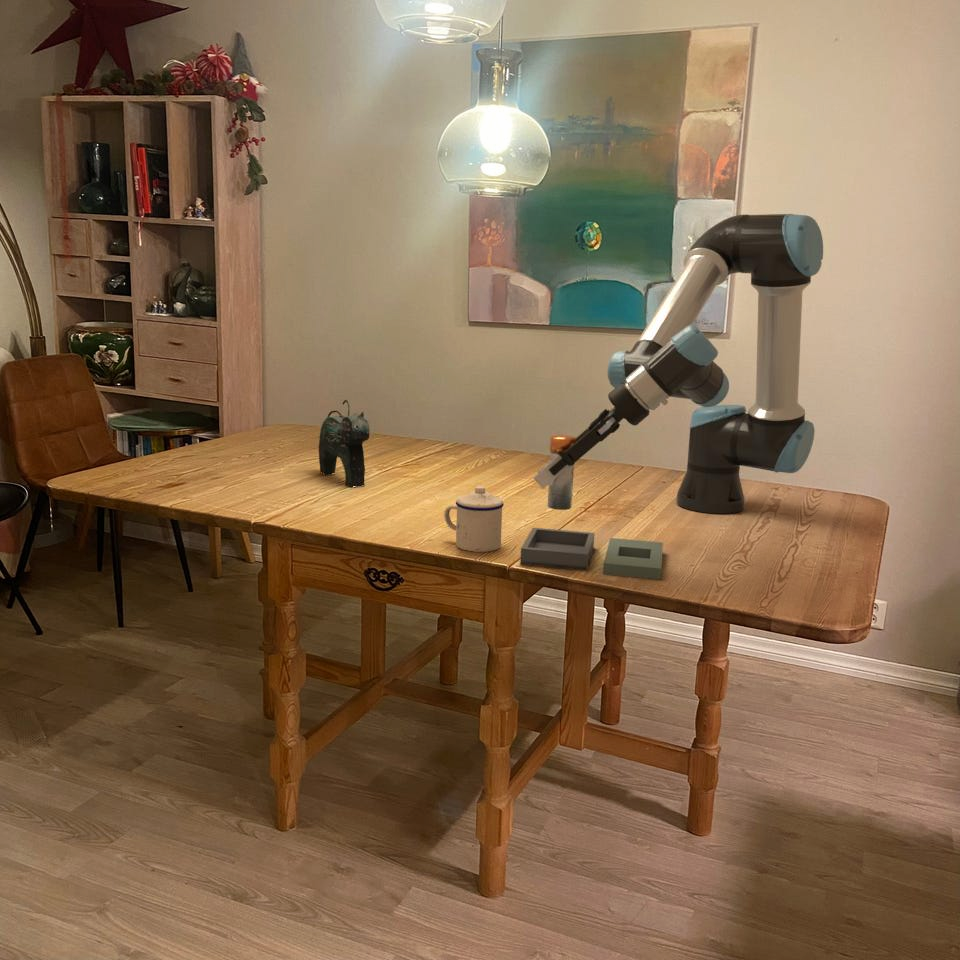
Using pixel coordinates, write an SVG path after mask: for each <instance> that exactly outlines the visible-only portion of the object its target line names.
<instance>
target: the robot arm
mask: <svg viewBox="0 0 960 960" xmlns="http://www.w3.org/2000/svg"><path fill="white" fill-rule="evenodd" d="M823 239H824V238H823V235H822V231H821V229H820V226H819V224H818V223H817V221H816V219H814V218H813V217H812V216H810V215H806V214H793V213H780V214H779V213H777V214H775V213H774V214H773V213H772V214H737V215H734V216H730V217H727V218H725V219H724V220H722V221H720V222H718V223H716V224H714V225H713V226H712V227H710V228H709V229H708V230H706V231H705V232H704V233H703V234H702V235H701V236H700V237H698V238H697V239H696V241H694V243H693V244H692V245H691V246H690V248H689V249H688V251H687V253H686V255H685V256H684V258H683V269H682V270H681V271H680V273H679V275H678V276H677V278H676V279H675V281H674V282H673V284H672V285H671V287H670V289H669V290H668V292H667V294H666V295H665V297H664V298H663V300H662V301H661V303H660V305H659V306H658V307H657V310H656V311H655V312H654V314H653V316H652V317H651V318H650V320H649V321H648V323H647V325H646V326H645V328H644V330H643V332H642V333H641V335H640V336H639V338H638V339H637V341H636V342H635V344H634V345H633V346H632V348H631V349H630V350H629V351H628V350H620V351H617V352H614V353H613V354H612V355H611V357H610V359H609V361H608V365H607V379H608V381H609V384H610V385H611V387H612V388H613V389H612V390H611V391H610V392H609V393H608V395H607V396H608V400H609V402H610V403H611V405H612V406H614V407H613V408H611V409H606V408H605V409H604V410H603V411H601V413H599V415H598V416H597V417H596V418H595V419H594V420H593V421H592V422H591V423H590V424H589V426H588V427H587V428H585V429H584V431H582V432H581V433H580V434H579V435H578V436H576V442H575V443H574V444H573V445H572V446H571V447H570V448H568V449H567V450H566V451H565V452H564V453H562V452H561V451H559V452H558V454H559V456H558V457H557V458H555V459H554V460H553V461H552V462H551V463H550V460H549V461H548V462H547V463H546V464H545V465H543V467H541V468H540V469H539V470H538V471H537V474H536V475H535V476H533V477H532V478H533V480H534V481H535V483H537V484H538V486H540V487H541V489H542V490H544V489H545V488H546V487H548V486H549V484H550V483H551V482H552V481H553V480H554V479H556V478H557V477H558V476H559V475H560V474H561V473H563V472H564V471H565V470H566V469H567V468H568V467H570V465H571V466H572V465H574V466H575V463H576V462H578V460H580V459H581V458H582V457H584V455H586V454H587V453H588V452H589V451H591V450H592V448H594V447H595V446H596V445H597V444H599V443H600V442H603V441H604V440H606V439H607V437H608V436H610V435H611V434H613V433H616V431H617V430H619V429H620V426H621V424H620V423H621V421H622V420H623V419H625V420H626V421H627V423H628V424H630V425H632V426H638V425H639V424H640V423H642V421H644V420H645V419H646V418H647V417H648V416H649V415H650V410H651V411H655V410H656V409H657V408H658V407H660V406H661V404H662V405H663V406H666V405H668V403H669V401H668V400H667V399H669V398H678V399H687V400H690V401H691V402H693V403H694V404H696V405H699V406H701V407H697V408H696V409H694V410H693V412H692V414H691V420H690V425H689V439H688V450H687V465H686V472H685V474H684V477H683V478H682V481H681V483H680V486H679V488H678V491H677V492H676V501H675V502H676V504H677V505H678V506H679V507H682V508H683V509H686V510H691V511H693V512H694V511H695V512H701V513H706V514H733V513H734V514H735V513H740V512H741V511H743V510H745V509H744V508H745V501H746V500H745V495H744V491H743V487H742V483H741V479H740V478H741V477H740V466H742V467H746V468H747V467H748V468H753V469H758V470H764V471H770V472H774V473H778V474H779V473H785V474H794V473H797V472H798V471H800V470H801V469H802V467H803V466H804V465H805V463H806V462H807V460H808V458H809V455H810V453H811V450H812V447H813V444H814V440H815V439H814V438H815V425H814V423H813V422H811V421H809V420H808V419H807V420H806V419H805V417H806V416H805V415H806V410H805V408H804V407H803V406H801V404H800V403H799V382H800V381H799V379H800V378H799V377H800V356H801V333H802V331H801V330H802V311H803V309H802V307H803V291H804V290H805V289H806V288H807V287H808V286H809V285H810V284H811V281H812V280H811V279H812V277H813V276H815V275H817V274H818V273H819V271H820V270H821V267H822V260H823V258H824V241H823ZM738 273H739V274H740V273H741V274H750V285H751V286H752V287H753V289H755V290H756V291H757V294H758V298H757V335H756V337H757V339H756V340H757V341H756V370H755V371H756V373H755V374H756V375H755V378H756V379H755V380H756V381H755V403H754V404H753V405H751V406H750V407H749V408H748V409H746V406H745V405H740V404H720V403H722V402H723V401H724V400H725V398H726V397H727V395H728V392H729V390H730V383H729V378H728V377H727V375H726V374H725V372H724V370H723V369H722V367H720V365H718V364H717V363H716V362H715V361H714V360H716V358H717V357H718V356H719V355H718V354H719V351H718V349H717V348H716V346H714V344H713V343H712V342H711V341H710V339H708V338H707V336H706V334H704V333H703V331H701V330H700V328H699V327H698V326H697V325H695V321H696V320H697V318H698V317H699V315H700V313H701V312H702V310H703V308H704V307H705V305H706V304H707V301H708V300H709V299H710V297H711V296H712V293H713V292H714V291H715V288H716V287H717V286H720V285H722V284H724V282H725V281H726V280H727V279H728V276H730V275H732V274H738ZM747 411H748V412H747ZM746 412H747V413H746ZM572 457H573V458H572Z"/></svg>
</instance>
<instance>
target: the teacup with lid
mask: <svg viewBox="0 0 960 960" xmlns="http://www.w3.org/2000/svg"><path fill="white" fill-rule="evenodd" d="M504 506H505V505H504V501H503V499H502V498H500V496H496V495H493V494H492V493H491V492H489V491H486V487H485V486H484V485H483V486H482V485H480V486H479V485H478V486H477V485H476V486H475V487H474V490H472V491H470V492H469V493H467V494H463V495H460V496H458V497H457V499H456V501H455V504H451V505H448V506H447V507H446V508H445V510H444V515H443V516H444V521H445V522H446V525H447V527H449V528H450V529H451V530H453V531H456V533H455V545H456V547H457V548H458V549H461V550H463V551H466V550H467V552H471V551H473V553H486V552H487V553H488V551H489V552H492V551H496V550H498V549H500V548H501V545H502V528H503V527H502V524H503V523H502V522H503V521H502V520H503V507H504ZM451 510H456V525H455V524H454V523H453V522H452V519H451V517H450V513H451Z"/></svg>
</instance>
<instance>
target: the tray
mask: <svg viewBox="0 0 960 960" xmlns="http://www.w3.org/2000/svg"><path fill="white" fill-rule="evenodd" d="M594 546H595V532H587V531H577V530H562V529H555V528H552V529H551V528H542V527H532V528H531V530H530V532H529V534H528V535H527V537H526V539H525V541H524V542H523V544H522V546H521V547H520V561H519V562H520V563H519V564H520V565H523V566H524V565H525V566H535V567H536V566H538V567H547V568H555V569H557V568H558V569H565V570H577V571H586V570H588V568H587V567H589V564H590V561H591V559H592V558H591V557H592V555H591V554H593V552H594V548H595V547H594ZM592 551H593V552H592Z"/></svg>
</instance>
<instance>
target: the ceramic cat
mask: <svg viewBox="0 0 960 960" xmlns="http://www.w3.org/2000/svg"><path fill="white" fill-rule="evenodd" d="M344 404H347V408H348V410H347V413H348V414H347V416H343V415H342V414H341V412H340V411H339V410H331V411H329V413H328V414H327V417H326V418H325V419H324V421H323V422H322V424H321V428H320V433H319V440H318V460H319V461H318V462H319V472H320V473H321V472H322V473H324V474H332V473H335V474H336V467H337V462H338V461H337V459H338V458H339V459H340V461H341V463H342V466H343V469H344V475H345V486H347V485H349V486H348V487H350V486H351V487H350V488H352V487H353V486H362V485H364V486H365V473H366V466H365V454H364V448H363V443H365V442H366V441H368V440H369V439H370V424H369V421H368V420H367V418H366V417H365V414H364V413H365V412H364V411H362V412H360V414H358V415H357V411H356V412H354V413H353V414H352V415H350V403H349V401H348V399H345V400H343V402H342V405H344ZM335 413H338V415H339V416H331V415H332V414H335ZM362 487H363V486H362Z"/></svg>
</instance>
